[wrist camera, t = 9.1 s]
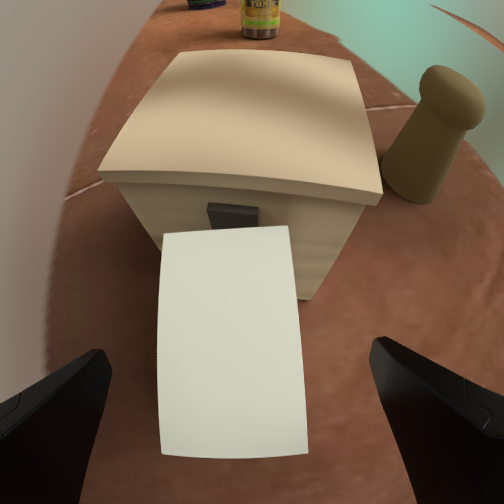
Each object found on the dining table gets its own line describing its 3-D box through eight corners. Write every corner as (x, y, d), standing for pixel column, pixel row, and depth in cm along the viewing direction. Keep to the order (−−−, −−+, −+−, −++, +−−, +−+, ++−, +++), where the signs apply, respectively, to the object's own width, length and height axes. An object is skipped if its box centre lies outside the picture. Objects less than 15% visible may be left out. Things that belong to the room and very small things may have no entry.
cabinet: (313, 305, 17) (383, 197, 7) (180, 288, 17) (95, 172, 7) (318, 194, 20) (350, 60, 10) (208, 182, 21) (180, 52, 11)
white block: (279, 408, 14) (308, 452, 5) (205, 410, 14) (132, 449, 5) (272, 310, 17) (287, 225, 8) (202, 313, 17) (138, 235, 8)
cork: (439, 171, 22) (489, 86, 12) (434, 215, 19) (504, 121, 9) (386, 142, 23) (422, 47, 13) (373, 182, 21) (421, 69, 11)
